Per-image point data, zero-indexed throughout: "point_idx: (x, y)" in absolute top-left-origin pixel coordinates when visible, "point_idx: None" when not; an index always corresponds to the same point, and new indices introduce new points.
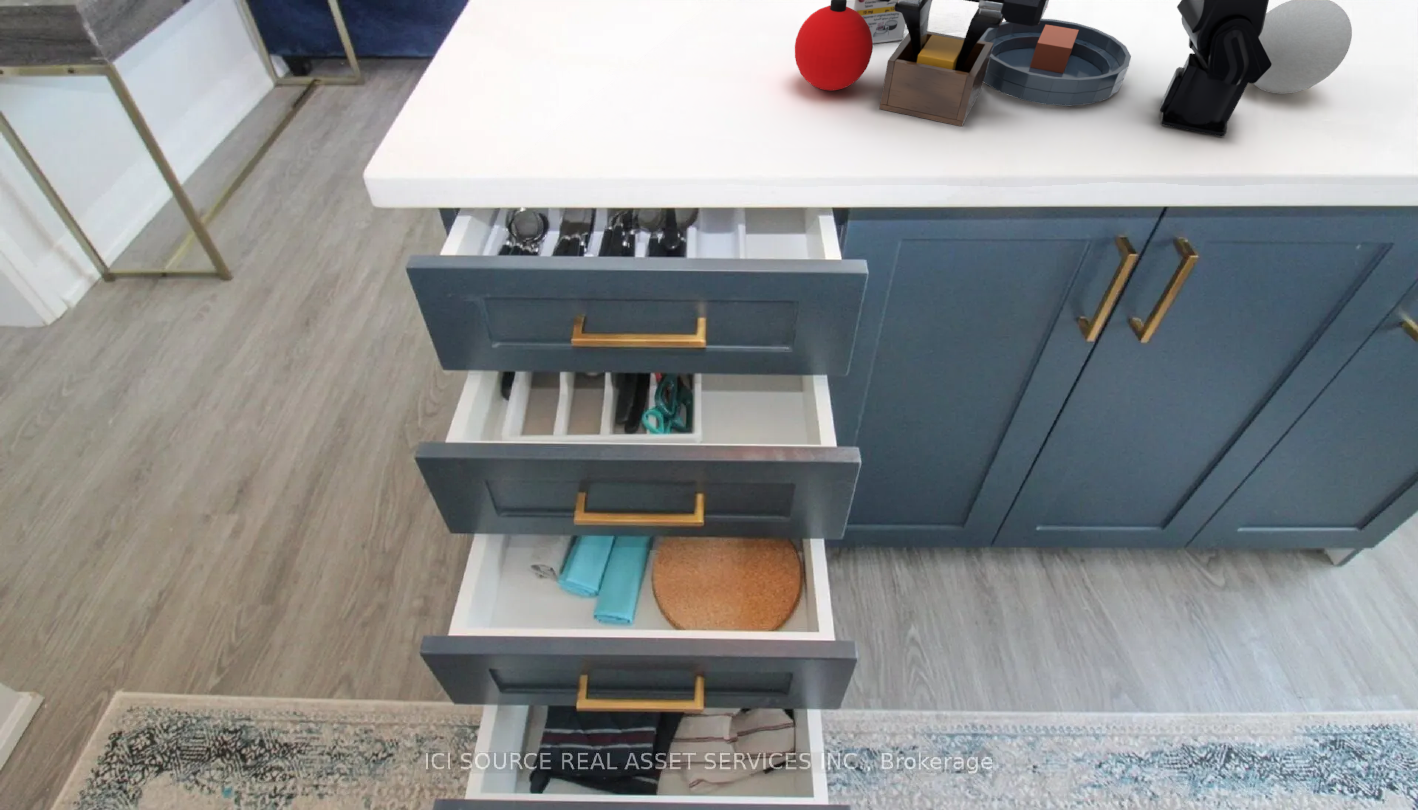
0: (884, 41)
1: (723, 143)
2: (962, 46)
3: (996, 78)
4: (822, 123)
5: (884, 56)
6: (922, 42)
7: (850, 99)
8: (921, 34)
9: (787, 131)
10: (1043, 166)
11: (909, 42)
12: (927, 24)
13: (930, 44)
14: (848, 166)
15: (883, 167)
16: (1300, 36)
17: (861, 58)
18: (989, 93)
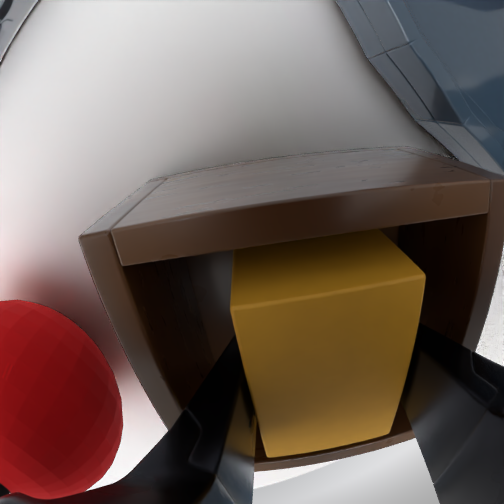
0: (17, 29)
1: (112, 479)
2: (419, 444)
3: (461, 149)
4: (158, 437)
5: (48, 97)
6: (251, 440)
7: (130, 366)
8: (250, 486)
9: (139, 458)
10: (499, 356)
11: (163, 366)
12: (228, 448)
13: (274, 398)
14: (258, 478)
15: (300, 466)
16: None
17: (117, 446)
18: (429, 148)
